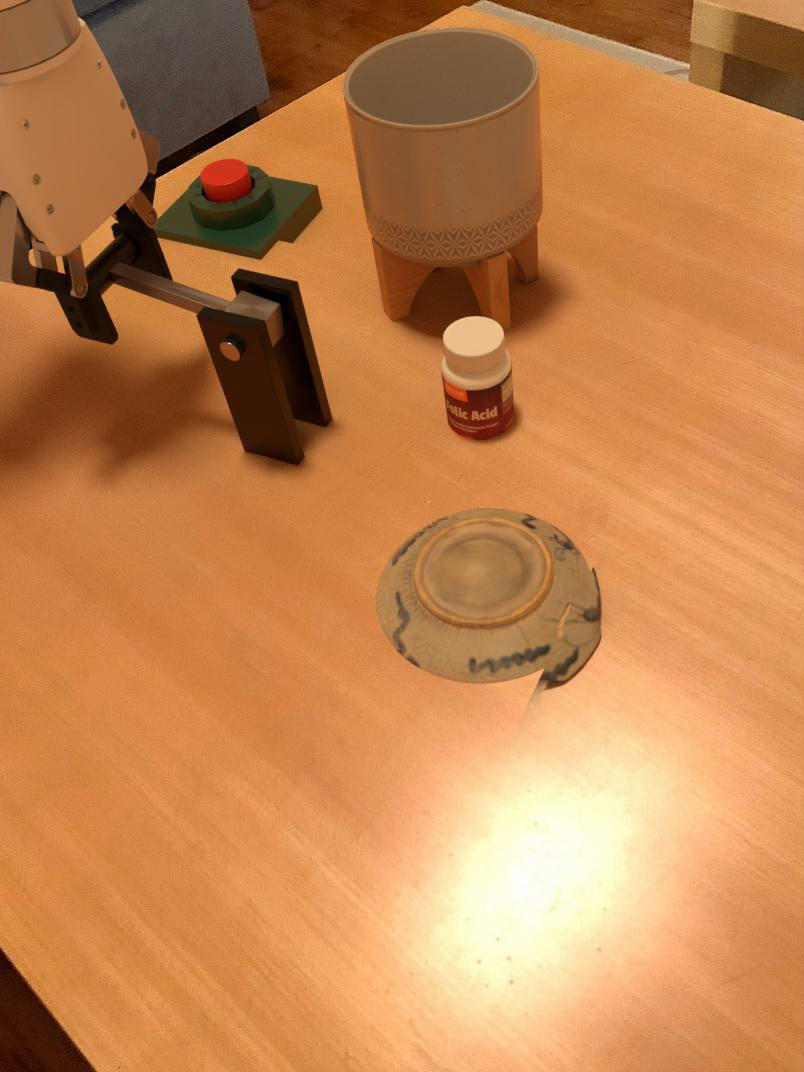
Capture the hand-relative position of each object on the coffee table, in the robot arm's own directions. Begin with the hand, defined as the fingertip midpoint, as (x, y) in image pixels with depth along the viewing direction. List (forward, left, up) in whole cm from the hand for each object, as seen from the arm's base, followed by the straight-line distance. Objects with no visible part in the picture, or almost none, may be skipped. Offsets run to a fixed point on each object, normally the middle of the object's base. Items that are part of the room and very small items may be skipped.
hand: (125, 306), depth 70 cm
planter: (+18, +16, -10) cm, 26 cm away
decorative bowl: (+27, -13, -10) cm, 32 cm away
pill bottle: (+23, +2, -10) cm, 26 cm away
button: (-4, +23, -6) cm, 24 cm away
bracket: (+10, -2, -10) cm, 14 cm away
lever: (+5, -1, +1) cm, 5 cm away
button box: (-4, +23, -10) cm, 25 cm away
